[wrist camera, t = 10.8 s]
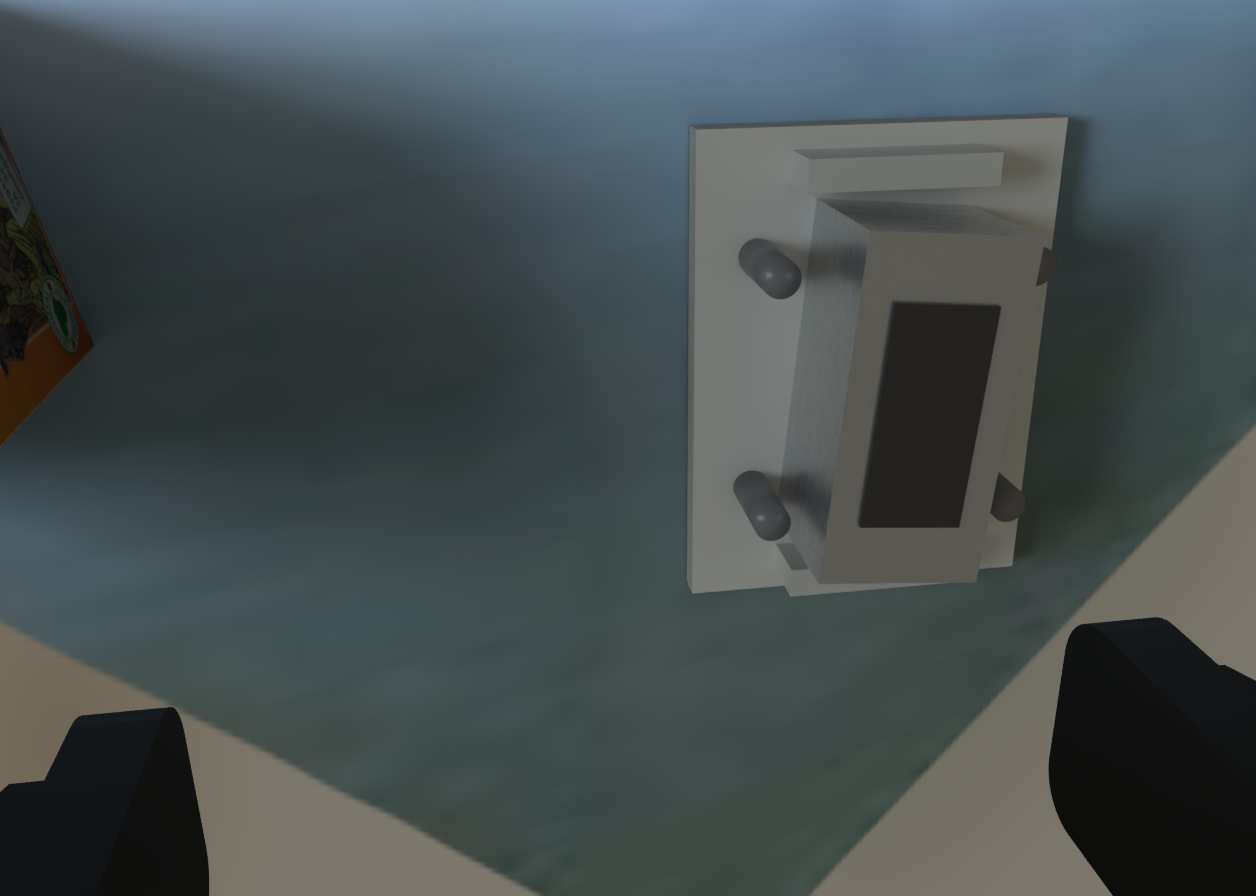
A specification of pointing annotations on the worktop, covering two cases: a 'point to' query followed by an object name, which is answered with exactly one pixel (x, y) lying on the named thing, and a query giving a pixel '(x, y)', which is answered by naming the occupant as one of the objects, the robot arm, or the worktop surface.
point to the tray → (774, 293)
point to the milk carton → (31, 307)
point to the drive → (904, 387)
